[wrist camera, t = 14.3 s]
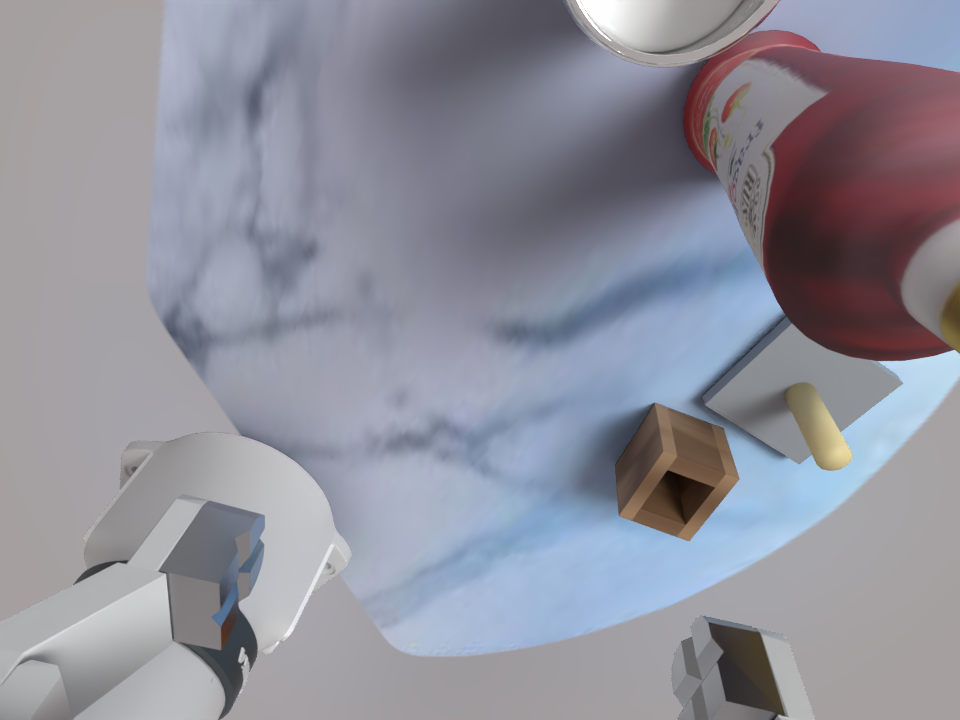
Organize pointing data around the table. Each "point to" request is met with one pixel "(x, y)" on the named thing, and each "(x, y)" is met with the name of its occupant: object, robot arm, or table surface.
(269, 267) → the table surface
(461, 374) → the table surface
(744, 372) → the post stand
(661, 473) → the collar
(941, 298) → the liquor
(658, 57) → the beer glass
